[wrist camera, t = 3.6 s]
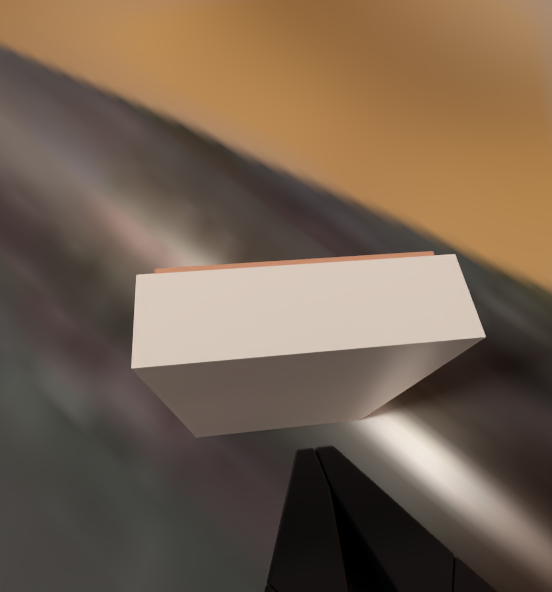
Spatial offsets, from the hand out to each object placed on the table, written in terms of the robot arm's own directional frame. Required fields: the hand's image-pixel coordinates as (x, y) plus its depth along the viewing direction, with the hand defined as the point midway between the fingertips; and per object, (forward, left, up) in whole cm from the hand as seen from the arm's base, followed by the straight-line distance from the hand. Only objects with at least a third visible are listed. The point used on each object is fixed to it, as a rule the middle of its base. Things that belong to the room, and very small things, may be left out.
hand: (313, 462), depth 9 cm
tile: (+3, -1, -8) cm, 8 cm away
